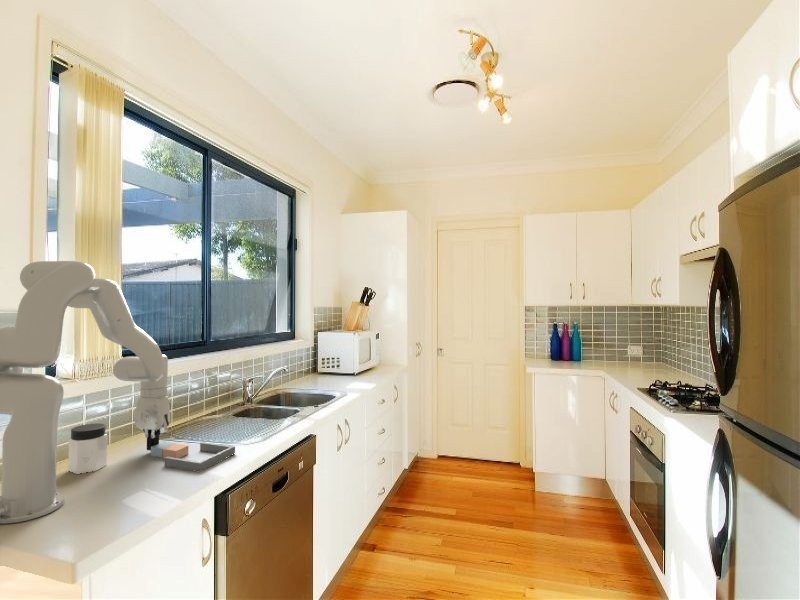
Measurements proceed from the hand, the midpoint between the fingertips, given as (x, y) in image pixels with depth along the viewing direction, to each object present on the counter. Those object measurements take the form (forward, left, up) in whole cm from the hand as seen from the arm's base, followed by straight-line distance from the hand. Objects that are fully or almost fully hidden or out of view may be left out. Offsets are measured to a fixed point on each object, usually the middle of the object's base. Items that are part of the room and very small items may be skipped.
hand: (152, 448), depth 134 cm
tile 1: (0, -4, -1) cm, 5 cm away
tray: (0, -19, -1) cm, 19 cm away
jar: (-16, +6, -1) cm, 17 cm away
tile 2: (0, -10, -1) cm, 10 cm away
